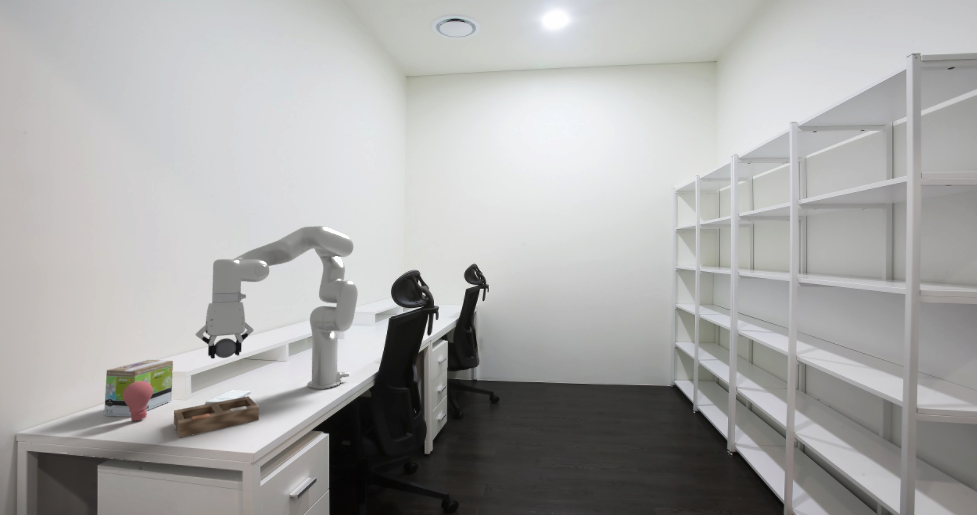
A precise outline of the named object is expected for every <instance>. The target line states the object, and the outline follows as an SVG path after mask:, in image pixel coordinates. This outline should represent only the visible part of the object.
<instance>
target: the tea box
mask: <svg viewBox="0 0 977 515" xmlns="http://www.w3.org/2000/svg"><path fill="white" fill-rule="evenodd" d="M173 369H174V361H173V360H165V359H164V360H163V359H162V360H161V359H156V360H155V359H146V360H142V361H138V362H134V363H129V364H125V365H122V366H117V367H114V368H110V369H107V370H106V378H105V394H104V413H103V414H104V415H103V416H107V417H125V418H126V417H127V418H131V412H130V411H129V407H128V406H127V404H126V403H125V401H124V399H123V392H124V390H125V389H126V387H127V386H129V385H130V384H132V383H134V382H138V381H144V382H147V383H149V384H150V385H151V386H152V388H153V394H152V396H151V398H150V400H149V402H148V403H147V405H146V411H147V412H148V411H149V410H152V409H155V408H158V407H161V406H163V405H166V404H168V403H167V402H169V401H171V402H172V394H173V372H172V371H173ZM165 403H166V404H165ZM169 403H170V402H169ZM162 404H163V405H162ZM157 406H158V407H157Z"/></svg>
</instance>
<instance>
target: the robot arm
mask: <svg viewBox="0 0 977 515" xmlns="http://www.w3.org/2000/svg"><path fill="white" fill-rule="evenodd" d="M310 250H314V251H315V253H316V254H317V256H318V258H319V259H320V260H321V263H322V266H323V267H322V274H321V280H320V285H319V288H318V289H319V290H318V298H319V300H320V301H322V302H323V303H327V304H336V306H329V305H328V306H326V305H320V306H318V307H316V308H314V309H312V311H311V313H310V315H309V316H310V317H309V324H310V329H311V340H312V342H311V343H312V344H311V346H312V348H311V380H310V381H309V382H307V387H308V389H312V390H325V389H324V388H328V389H331V388H330V387H333V388H335V387H334V386H336V387H338V386H340V385H341V384H342V380H341V379H342V378H349V377H350V373H349V371H347V372H346V371H341V372H339V371H338V347H339V346H338V342H339V341H338V336H337V333H336V332H340V333H341V332H346V331H348V330H349V329H350V328H351V327H352V324H353V322H354V318H355V313H356V312H355V311H356V308H357V307H356V306H357V301H358V288H357V285H356V284H355V283H354V282H353V281H351V280H346V279H345V274H346V273H345V272H346V267H345V263H344V261H343V259H342V258H346V257H349V256H350V255H351V254H352V252H353V251H354V242H353V241H352V239H351V238H350V237H349V236H348V235H346V234H344V233H341V232H339V231H336V230H334V229H331V228H330V227H329V228H328V227H326V226H322V225H318V226H317V225H315V226H312V225H311V226H303V227H300V228H299V229H296V230H295V231H293V232H291V233H289V234H288V235H286V236H283V237H282V238H280V239H278V240H275V241H273V242H270V243H267V244H265V245H262V246H260V247H256V248H253V249H251V250H248V251H246V252H244V253H242V254H241V255H238V256H237V257H235V258H232V259H230V258H227V259H226V258H219V259H216V260H214V262H213V264H212V288H211V289H212V292H211V293H212V294H211V296H212V297H211V302H210V303H208V306H207V310H206V316H205V324H204V326H202V327H201V328H200V329H199V330H198V331H197V332H196V333H195V336H196V337H197V338H199V339H200V340H201V341H203V342H204V343H205V344H207V345H208V349H207V350H208V351H207V356H208V357H210V359H211V360H212V359H216V354H215V341H216V339H217V337H221V336H233V335H234V337H235V339H236V341H234V342H235V343H236V347H237V348H236V351H235V353H234V355H236V356H239V357H240V353H242V343H243V342H244V340H246V338H248V337H249V335H251V334H252V333H253V332H254V328H253V327H252V326H250V325H249V323H247V322H246V317H245V307H244V302H242V300H243V299H246V298H247V295H246V293H245V294H243V293H242V292H241V291H242V288H241V287H242V282H246V283H258V282H262V281H264V280H265V279H267V277H268V276H269V275H270V266H277V265H282V264H286V263H289V262H291V261H293V260H295V259H297V258H298V257H300V256H301V255H304V254H305V253H307V251H310ZM204 333H205V334H207V335H208V336H209V338H208V337H207V336H205V335H204ZM340 383H341V384H340ZM339 384H340V385H339ZM337 385H338V386H337Z"/></svg>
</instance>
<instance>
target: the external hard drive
mask: <svg viewBox="0 0 977 515" xmlns="http://www.w3.org/2000/svg"><path fill="white" fill-rule="evenodd" d="M251 394H252V391H251V390H238V389H234V390H232V389H231V390H228V391H226V392H224V393H222V394H219V395H218V396H215V397H213V398H211V399H209V400H206V401H205V404H210V403H216V402H221V401H226V400H231V399H237V398H242V397H247V396H249V395H251ZM205 404H204V405H205Z"/></svg>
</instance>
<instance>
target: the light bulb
mask: <svg viewBox="0 0 977 515" xmlns="http://www.w3.org/2000/svg"><path fill="white" fill-rule="evenodd" d="M152 394H153V388H152V386H151V385H150V384H149V383H147V382H144V381H138V382H134V383H132V384H130V385H129V386H127V387H126V389H125V390H124V392H123V399H124V401H125V403H126V404H127V406H128V407H129V411H130V412H131V417H130V418H131V421H141V420H143V419H146V418H147V415H148V413H147V412H148V410H147V411H146V405H147V403H148V402H149V400H150V398H151V396H152Z"/></svg>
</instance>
